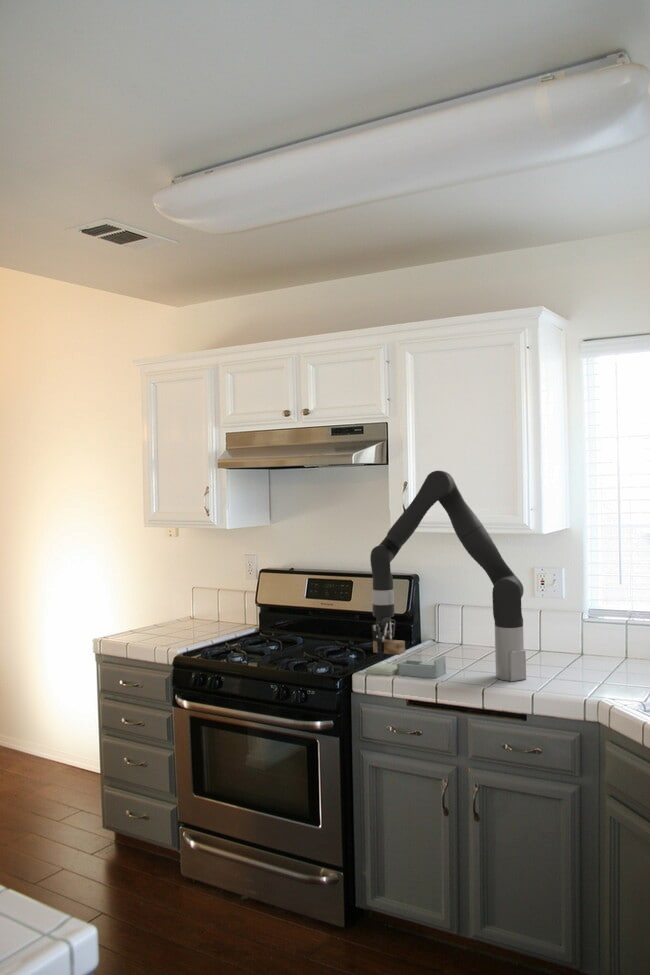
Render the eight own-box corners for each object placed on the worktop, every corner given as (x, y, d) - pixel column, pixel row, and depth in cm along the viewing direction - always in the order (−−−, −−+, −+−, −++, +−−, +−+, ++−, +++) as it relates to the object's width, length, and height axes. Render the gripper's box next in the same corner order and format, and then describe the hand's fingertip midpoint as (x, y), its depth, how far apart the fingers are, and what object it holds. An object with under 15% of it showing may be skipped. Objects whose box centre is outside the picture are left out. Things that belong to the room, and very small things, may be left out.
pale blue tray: (445, 673, 284) (445, 655, 284) (436, 678, 278) (435, 660, 278) (407, 669, 292) (406, 652, 292) (397, 674, 285) (396, 656, 285)
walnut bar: (405, 652, 289) (404, 640, 289) (399, 654, 285) (398, 643, 285) (379, 649, 294) (379, 638, 294) (373, 652, 290) (372, 640, 290)
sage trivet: (404, 669, 292) (404, 666, 292) (391, 675, 283) (391, 671, 283) (378, 666, 297) (378, 663, 297) (365, 672, 289) (365, 669, 289)
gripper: (383, 606, 282) (384, 656, 282) (402, 600, 294) (403, 649, 294) (363, 604, 286) (364, 654, 286) (383, 599, 298) (384, 647, 298)
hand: (384, 651), depth 290 cm, fingers closed on walnut bar, 4 cm apart
